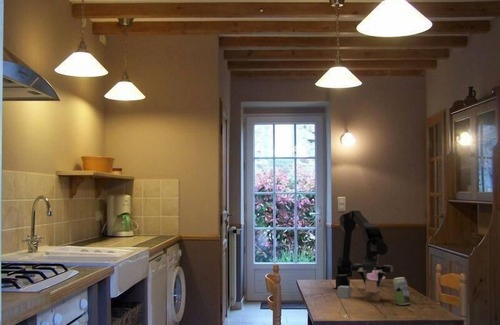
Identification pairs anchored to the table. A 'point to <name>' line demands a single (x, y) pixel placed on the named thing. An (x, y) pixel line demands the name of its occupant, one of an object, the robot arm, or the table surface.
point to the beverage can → (401, 291)
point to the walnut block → (372, 296)
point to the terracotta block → (371, 286)
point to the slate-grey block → (344, 291)
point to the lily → (373, 275)
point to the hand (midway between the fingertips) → (372, 286)
